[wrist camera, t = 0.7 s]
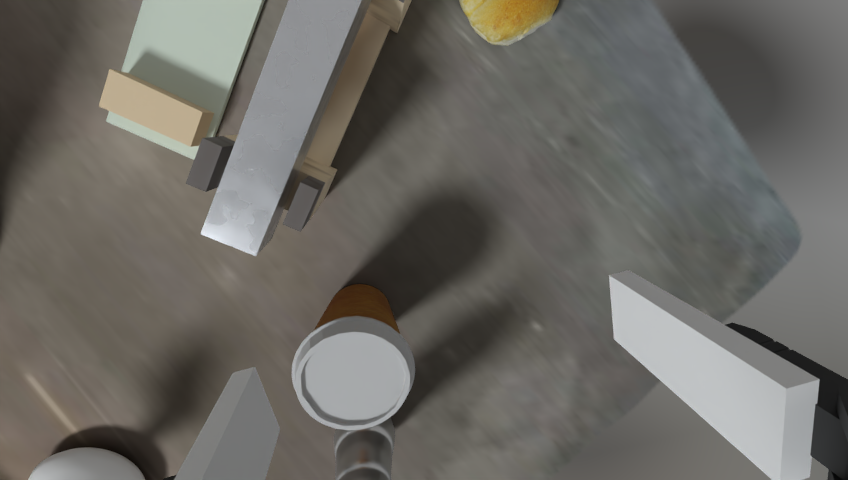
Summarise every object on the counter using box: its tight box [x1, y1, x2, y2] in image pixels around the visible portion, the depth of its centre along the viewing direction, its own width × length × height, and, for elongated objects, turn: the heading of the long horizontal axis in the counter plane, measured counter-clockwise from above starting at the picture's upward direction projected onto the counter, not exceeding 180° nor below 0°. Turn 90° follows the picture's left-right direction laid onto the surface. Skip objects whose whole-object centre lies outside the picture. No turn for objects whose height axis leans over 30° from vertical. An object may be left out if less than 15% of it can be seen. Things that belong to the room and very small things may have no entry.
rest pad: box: [99, 0, 265, 160], centre depth 31 cm, size 8×22×3 cm, turn 153°
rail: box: [201, 0, 371, 256], centre depth 25 cm, size 4×24×4 cm, turn 153°
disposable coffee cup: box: [292, 284, 415, 430], centre depth 36 cm, size 10×10×12 cm
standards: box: [186, 0, 412, 232], centre depth 29 cm, size 7×22×12 cm, turn 153°
